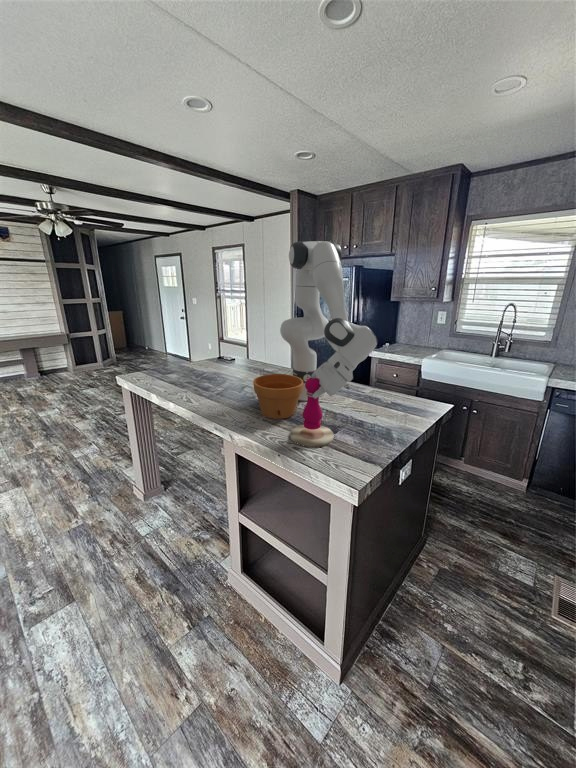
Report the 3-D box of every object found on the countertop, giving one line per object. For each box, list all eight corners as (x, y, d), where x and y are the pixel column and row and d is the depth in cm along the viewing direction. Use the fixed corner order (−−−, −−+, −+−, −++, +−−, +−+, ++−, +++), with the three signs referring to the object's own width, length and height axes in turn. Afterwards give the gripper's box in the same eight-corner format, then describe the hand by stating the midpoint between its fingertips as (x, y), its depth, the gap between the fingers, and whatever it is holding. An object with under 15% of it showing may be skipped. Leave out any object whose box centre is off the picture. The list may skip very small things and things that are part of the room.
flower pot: (308, 407, 147) (309, 376, 142) (293, 426, 128) (293, 391, 123) (266, 401, 153) (265, 371, 149) (246, 418, 135) (244, 385, 130)
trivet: (287, 428, 126) (287, 425, 125) (327, 426, 128) (327, 423, 127) (293, 448, 111) (293, 445, 110) (338, 445, 113) (338, 442, 112)
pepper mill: (320, 421, 121) (322, 370, 115) (323, 430, 114) (325, 376, 108) (301, 421, 121) (302, 370, 115) (303, 430, 114) (304, 376, 108)
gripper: (326, 353, 121) (300, 379, 123) (341, 367, 101) (311, 398, 103) (337, 364, 123) (311, 389, 125) (354, 380, 103) (324, 410, 105)
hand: (311, 393), depth 114 cm, fingers closed on pepper mill, 5 cm apart
